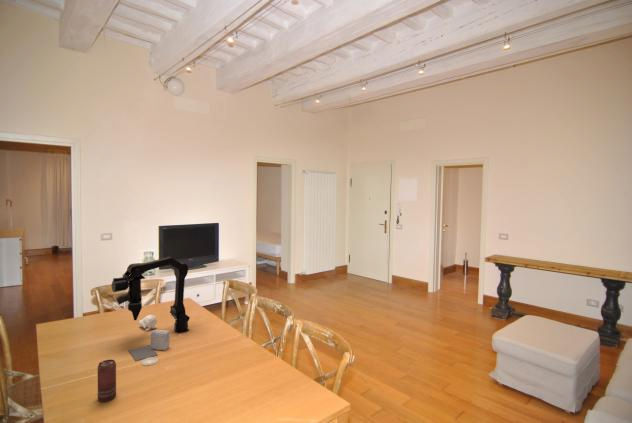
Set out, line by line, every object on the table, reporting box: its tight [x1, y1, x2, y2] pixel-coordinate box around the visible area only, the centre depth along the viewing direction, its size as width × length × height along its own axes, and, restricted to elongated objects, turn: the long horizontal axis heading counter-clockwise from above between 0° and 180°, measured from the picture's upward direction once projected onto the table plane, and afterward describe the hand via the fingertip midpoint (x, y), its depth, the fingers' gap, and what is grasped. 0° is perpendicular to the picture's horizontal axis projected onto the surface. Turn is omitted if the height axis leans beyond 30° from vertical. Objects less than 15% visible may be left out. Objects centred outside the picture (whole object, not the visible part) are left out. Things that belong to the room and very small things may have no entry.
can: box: [97, 359, 117, 403], centre depth 136 cm, size 6×6×14 cm
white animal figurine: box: [138, 314, 158, 332], centre depth 204 cm, size 6×8×12 cm
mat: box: [128, 344, 159, 362], centre depth 174 cm, size 10×14×1 cm
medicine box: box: [150, 329, 171, 351], centre depth 179 cm, size 8×4×9 cm, turn 84°
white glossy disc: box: [141, 356, 159, 367], centre depth 165 cm, size 7×7×1 cm
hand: (135, 317), depth 184 cm, fingers open, 9 cm apart
